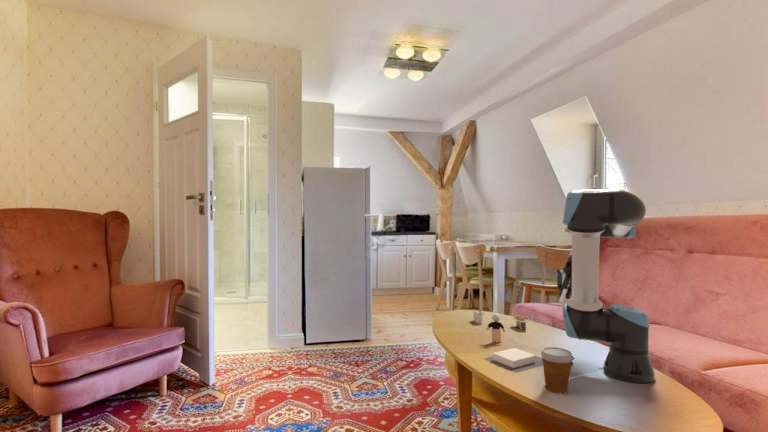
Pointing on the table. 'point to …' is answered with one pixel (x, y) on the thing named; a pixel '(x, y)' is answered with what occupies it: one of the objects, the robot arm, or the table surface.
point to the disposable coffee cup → (556, 368)
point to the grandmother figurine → (496, 328)
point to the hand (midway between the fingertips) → (561, 303)
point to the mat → (518, 369)
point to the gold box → (520, 321)
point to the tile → (514, 357)
